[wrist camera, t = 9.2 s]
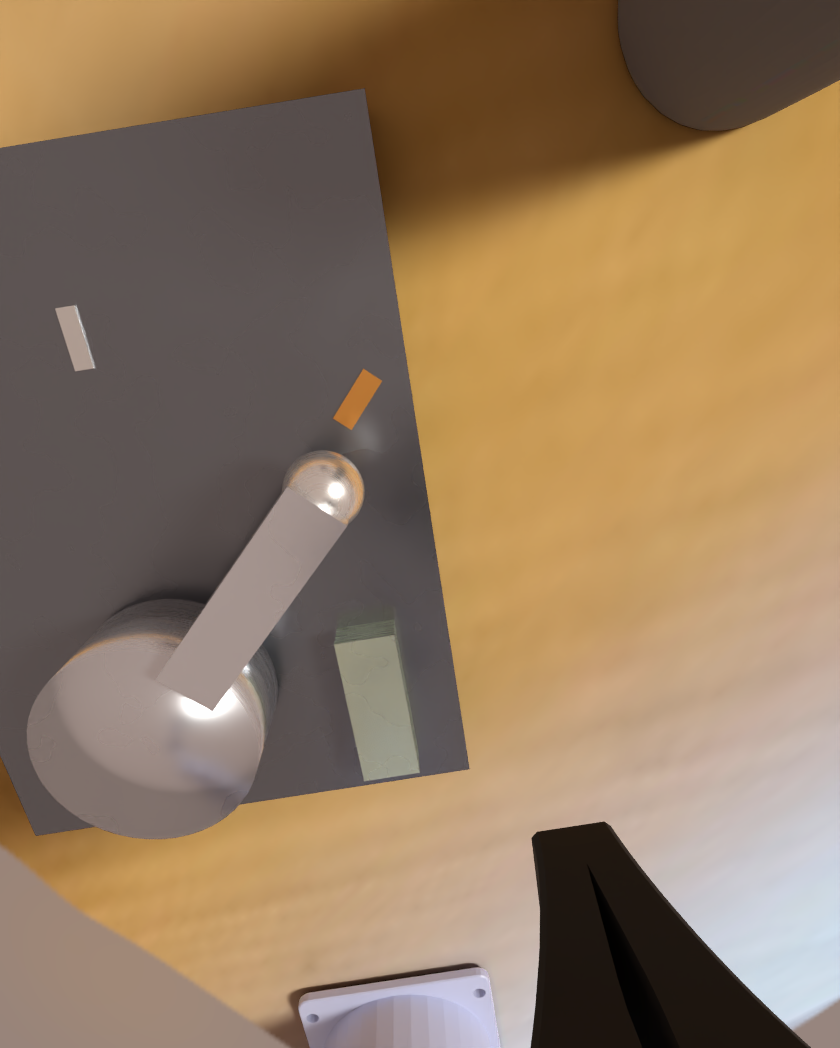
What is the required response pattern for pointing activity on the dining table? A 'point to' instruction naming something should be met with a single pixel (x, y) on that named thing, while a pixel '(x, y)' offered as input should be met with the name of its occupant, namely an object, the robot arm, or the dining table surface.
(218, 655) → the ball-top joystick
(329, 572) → the lever base plate
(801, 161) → the dining table surface
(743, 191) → the dining table surface
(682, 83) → the bottle
